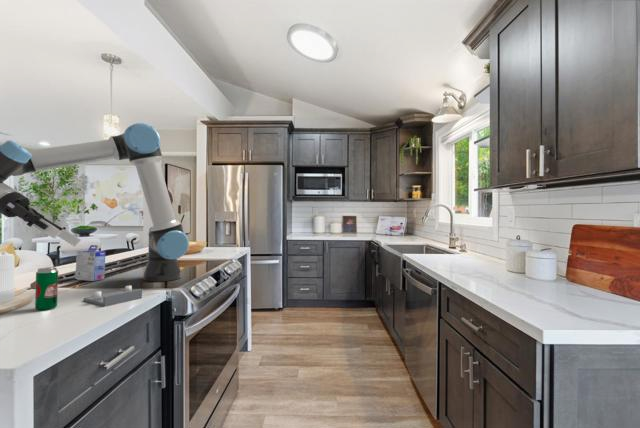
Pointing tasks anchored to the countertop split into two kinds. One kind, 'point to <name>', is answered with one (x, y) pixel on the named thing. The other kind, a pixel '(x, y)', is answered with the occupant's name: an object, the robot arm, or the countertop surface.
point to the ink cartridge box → (90, 264)
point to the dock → (114, 297)
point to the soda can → (46, 288)
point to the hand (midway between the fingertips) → (68, 239)
